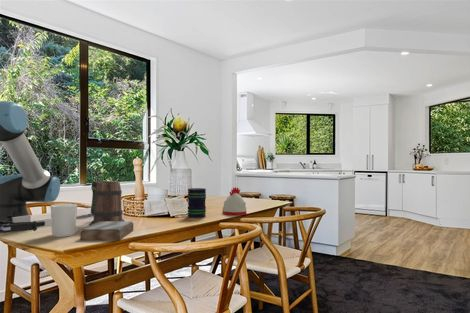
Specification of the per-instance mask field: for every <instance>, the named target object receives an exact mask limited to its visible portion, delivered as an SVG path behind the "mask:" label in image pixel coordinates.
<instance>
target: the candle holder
mask: <svg viewBox="0 0 470 313" xmlns="http://www.w3.org/2000/svg"><path fill="white" fill-rule="evenodd" d="M49 207H50V218H52V226H51V235H52V236H53V237H55V238H64V237H66V238H67V237H71V236H75V235H76V227H77V216H78V215H77V214H78V203H56V204H52V205H50V206H49ZM52 236H51V237H52Z"/></svg>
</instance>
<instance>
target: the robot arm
mask: <svg viewBox="0 0 470 313" xmlns="http://www.w3.org/2000/svg"><path fill="white" fill-rule="evenodd" d="M28 123H29V122H28V115H27V113H26V110H25V109H24V108H23V107H22V105H21V104H19V103H18V102H14V101H8V100H0V143H1V144H2V146H3V147H4V149H5V151H6V152H7V154H8V156H9V157H10V159H11V161H12V162H13V164H14V166H15V167H16V169H17V171H18V172H19V173H18V174H16V173H15V174H9V175H2V176H0V234H2V233H3V234H7V233H12V232H13V233H14V232H24V231H25V232H26V231H33V232H36V230H38V229H40V228H41V229H42V228H45V227H46V228H47V227H52V218H51V217H49V218H44V219H36V220H33V221H31V220H32V219H31V217H32V216H31V215H30V213H29V210H28V208H27V203H52V202H54V201H56V200H57V198H58V197H59V195H60V190H61V182H60V181H61V180H60V178H58V177H57V176H51V174H50V172H49V171H48V170H46V169H43V167H42V164H41V163H40V161H39V159H38V157H37V155H36V153H35V151H34V149H33V147H32V146H31V144H30V142H29V140H28V138H27V137H26V134H25V133H26V131H27V127H28Z"/></svg>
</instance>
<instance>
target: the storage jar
mask: <svg viewBox="0 0 470 313" xmlns="http://www.w3.org/2000/svg"><path fill="white" fill-rule="evenodd" d="M206 196H207V189H206V188H205V187H204V188H201V187H200V188H199V187H198V188H197V187H194V188H193V187H191V188H188V189H187V200H188V201H187V203H188V204H187V205H188V206H187V218H189V219H191V218H192V219H202V218H206V217H207V216H206V213H207V207H206V199H207V197H206Z"/></svg>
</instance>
